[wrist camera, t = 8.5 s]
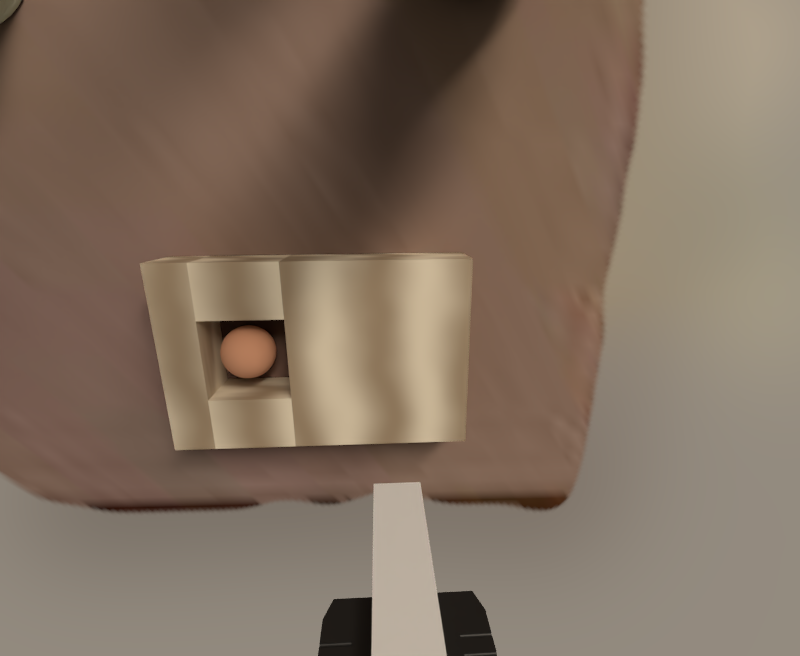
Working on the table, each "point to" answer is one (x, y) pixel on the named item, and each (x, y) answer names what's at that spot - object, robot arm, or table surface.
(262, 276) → the block
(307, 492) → the table surface
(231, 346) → the ball
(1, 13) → the can
